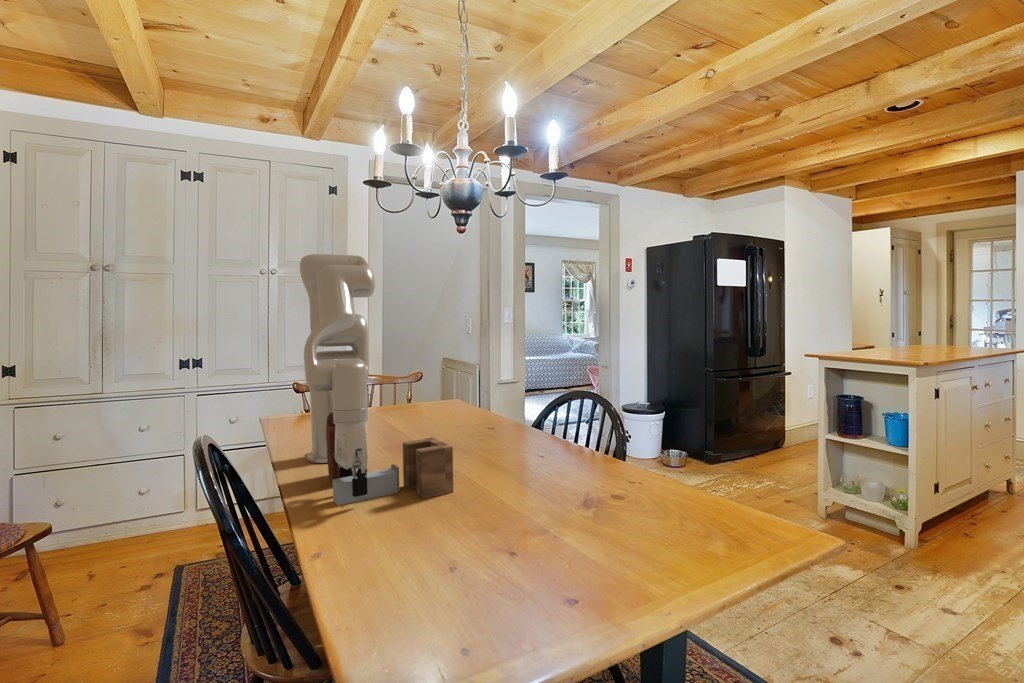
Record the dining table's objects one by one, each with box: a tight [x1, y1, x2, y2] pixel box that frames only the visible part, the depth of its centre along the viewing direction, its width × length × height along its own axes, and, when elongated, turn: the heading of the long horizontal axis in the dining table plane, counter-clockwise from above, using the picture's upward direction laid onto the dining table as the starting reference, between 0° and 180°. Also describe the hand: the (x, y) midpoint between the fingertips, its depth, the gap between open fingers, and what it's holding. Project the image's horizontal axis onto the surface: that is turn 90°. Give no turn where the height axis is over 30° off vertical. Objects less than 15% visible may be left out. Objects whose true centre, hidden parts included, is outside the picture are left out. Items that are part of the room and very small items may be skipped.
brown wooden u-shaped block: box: [402, 437, 454, 500], centre depth 125 cm, size 11×8×11 cm
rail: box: [332, 463, 400, 507], centre depth 120 cm, size 4×15×6 cm, turn 125°
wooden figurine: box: [326, 412, 339, 485], centre depth 132 cm, size 12×6×18 cm, turn 25°
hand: (353, 489), depth 118 cm, fingers open, 9 cm apart
